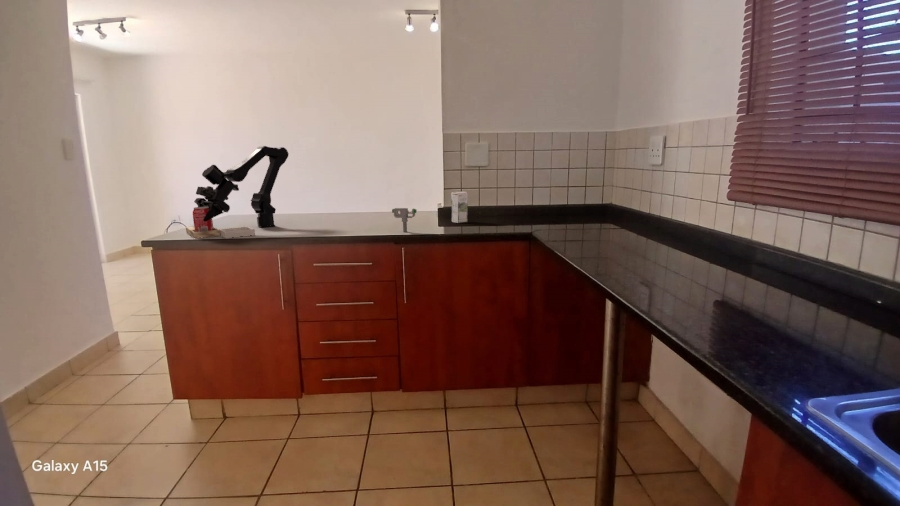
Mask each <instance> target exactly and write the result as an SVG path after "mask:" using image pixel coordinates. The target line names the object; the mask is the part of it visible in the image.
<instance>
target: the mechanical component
mask: <svg viewBox="0 0 900 506" xmlns="http://www.w3.org/2000/svg"><path fill="white" fill-rule="evenodd" d="M417 211H418V209H416V208H411V212H410V211H409V210H408V208H407V207H406V208H405V207H402V208H401V207H395V208H392V209H391V212H392V213H393V217H394V218H395V219H396V218H397V219H401V222H402V229H403V231H402V232H403V233H407V232H408V226H407V225H408V219H412V218H414V217H416V213H417ZM409 215H411V216H409Z"/></svg>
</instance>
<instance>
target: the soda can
mask: <svg viewBox="0 0 900 506" xmlns="http://www.w3.org/2000/svg"><path fill="white" fill-rule="evenodd" d="M208 211H209V207H198V206H196V207H193V211H192V220H193V227H194V228H195V232H202V231H212V230H213V227H214V221H213V218H212V219H210V220H208V221H206V222H205V221H203V219H204V217H205V216H206V214H207V212H208Z"/></svg>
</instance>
